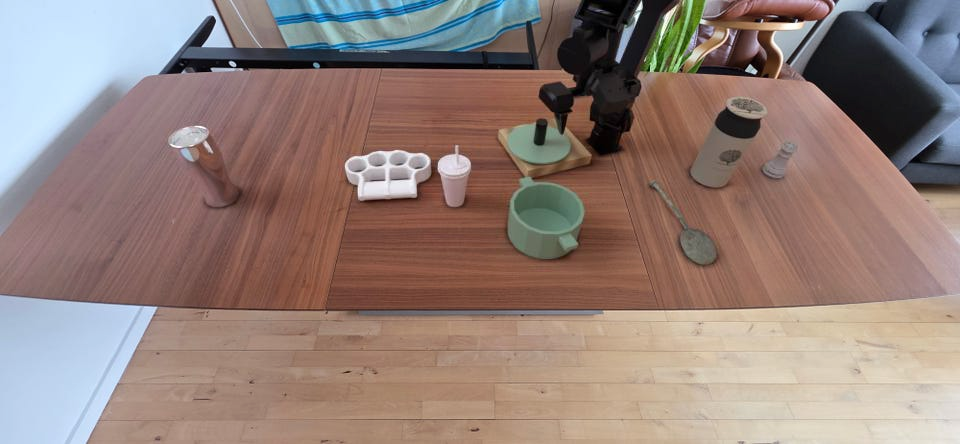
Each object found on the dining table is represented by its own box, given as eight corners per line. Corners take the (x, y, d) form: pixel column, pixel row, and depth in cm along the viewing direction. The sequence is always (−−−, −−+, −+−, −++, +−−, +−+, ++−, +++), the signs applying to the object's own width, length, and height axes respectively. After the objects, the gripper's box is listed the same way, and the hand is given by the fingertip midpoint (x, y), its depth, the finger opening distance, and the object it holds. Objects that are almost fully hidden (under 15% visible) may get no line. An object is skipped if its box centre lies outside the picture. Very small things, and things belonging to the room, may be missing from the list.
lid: (576, 136, 101) (581, 112, 96) (561, 173, 92) (566, 148, 87) (518, 122, 104) (521, 98, 99) (497, 156, 95) (499, 131, 90)
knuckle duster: (343, 205, 87) (350, 160, 96) (433, 200, 88) (430, 156, 98) (340, 193, 84) (347, 148, 94) (432, 188, 86) (429, 144, 96)
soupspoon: (687, 269, 79) (719, 266, 80) (696, 258, 76) (728, 255, 78) (639, 186, 93) (666, 184, 94) (644, 174, 90) (672, 173, 92)
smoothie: (466, 214, 86) (467, 158, 76) (435, 208, 87) (432, 153, 76) (473, 192, 90) (474, 137, 80) (443, 188, 91) (441, 133, 81)
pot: (549, 193, 91) (554, 167, 86) (597, 258, 79) (606, 233, 74) (491, 208, 87) (493, 182, 82) (532, 279, 76) (537, 254, 70)
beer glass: (248, 190, 89) (218, 129, 78) (224, 212, 84) (189, 151, 73) (221, 182, 90) (188, 121, 79) (196, 204, 86) (157, 142, 75)
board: (556, 125, 108) (557, 117, 106) (589, 163, 98) (591, 155, 96) (497, 138, 104) (498, 129, 102) (526, 179, 94) (528, 170, 92)
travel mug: (689, 162, 100) (724, 92, 87) (726, 170, 98) (767, 100, 85) (689, 183, 94) (726, 112, 81) (727, 192, 93) (771, 121, 80)
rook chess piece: (782, 170, 99) (802, 141, 93) (782, 181, 96) (803, 153, 90) (761, 164, 100) (779, 136, 94) (761, 175, 97) (780, 147, 91)
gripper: (576, 83, 66) (559, 163, 77) (674, 65, 71) (644, 143, 82) (543, 52, 73) (532, 129, 84) (634, 38, 78) (612, 112, 89)
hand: (581, 129), depth 85 cm, fingers open, 9 cm apart
